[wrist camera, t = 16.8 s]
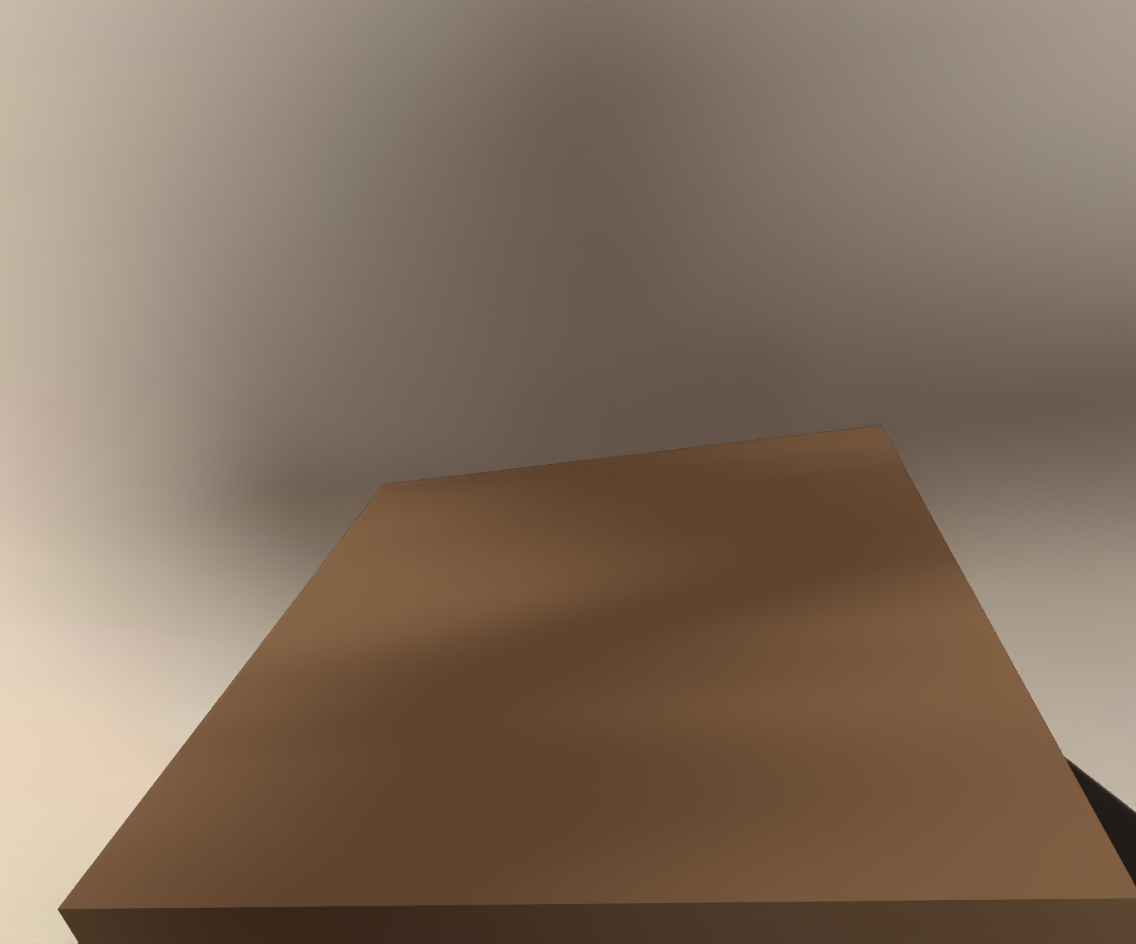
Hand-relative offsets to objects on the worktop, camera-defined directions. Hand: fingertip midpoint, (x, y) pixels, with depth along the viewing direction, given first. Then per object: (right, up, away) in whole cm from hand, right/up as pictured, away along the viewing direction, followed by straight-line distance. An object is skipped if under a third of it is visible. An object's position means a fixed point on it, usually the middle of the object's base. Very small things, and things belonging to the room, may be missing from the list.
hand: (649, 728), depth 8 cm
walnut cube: (0, 0, +1) cm, 1 cm away
